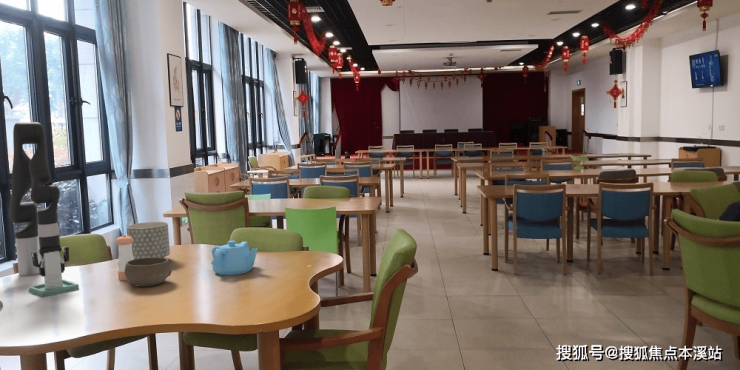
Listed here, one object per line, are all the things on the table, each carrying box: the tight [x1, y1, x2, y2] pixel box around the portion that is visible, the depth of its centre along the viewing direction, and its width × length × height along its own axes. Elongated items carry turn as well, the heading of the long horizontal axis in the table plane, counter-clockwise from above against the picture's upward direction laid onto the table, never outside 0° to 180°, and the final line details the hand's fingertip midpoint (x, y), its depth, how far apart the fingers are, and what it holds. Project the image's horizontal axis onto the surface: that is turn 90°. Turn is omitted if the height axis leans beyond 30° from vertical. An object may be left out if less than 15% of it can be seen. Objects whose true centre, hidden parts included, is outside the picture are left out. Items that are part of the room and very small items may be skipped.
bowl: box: [125, 257, 172, 288], centre depth 254 cm, size 17×18×10 cm
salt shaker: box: [115, 234, 134, 281], centre depth 265 cm, size 7×7×19 cm
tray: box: [28, 278, 80, 298], centre depth 250 cm, size 14×14×2 cm
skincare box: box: [43, 251, 63, 289], centre depth 249 cm, size 8×6×15 cm
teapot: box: [210, 240, 258, 276], centre depth 272 cm, size 19×19×14 cm
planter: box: [125, 221, 171, 259], centre depth 297 cm, size 19×19×18 cm
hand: (52, 274), depth 249 cm, fingers open, 6 cm apart
